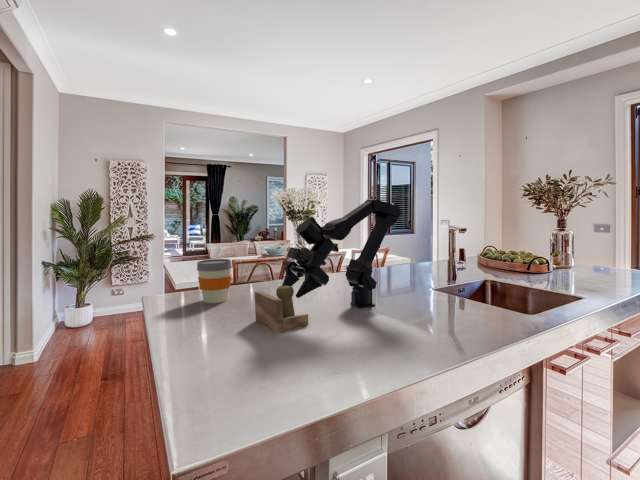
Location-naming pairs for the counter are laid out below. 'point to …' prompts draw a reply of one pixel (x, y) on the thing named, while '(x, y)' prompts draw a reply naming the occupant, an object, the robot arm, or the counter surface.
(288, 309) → the cork
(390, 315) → the counter surface
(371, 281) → the robot arm
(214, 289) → the reusable coffee cup
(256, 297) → the post bracket
